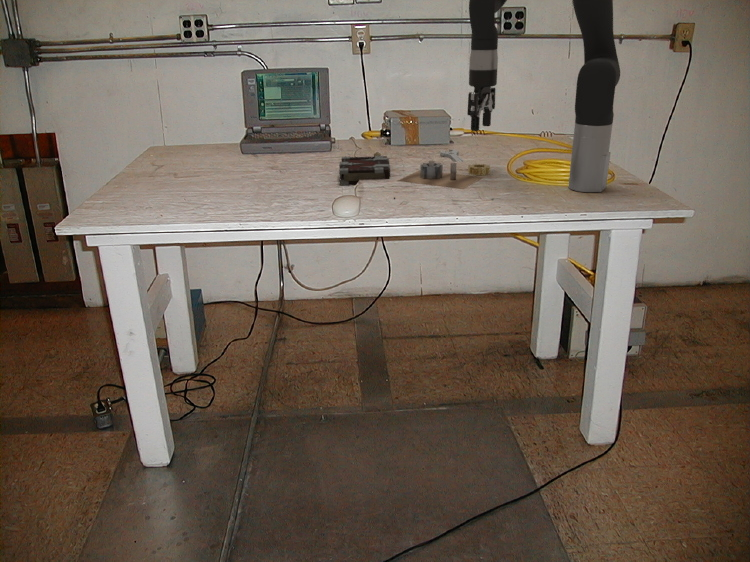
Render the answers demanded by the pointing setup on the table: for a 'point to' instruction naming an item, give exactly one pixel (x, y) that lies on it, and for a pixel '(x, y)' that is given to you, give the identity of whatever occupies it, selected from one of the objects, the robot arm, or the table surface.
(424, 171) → the steel gear
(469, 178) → the gear board
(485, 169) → the brass gear
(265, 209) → the table surface
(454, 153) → the adjustable wrench
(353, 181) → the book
